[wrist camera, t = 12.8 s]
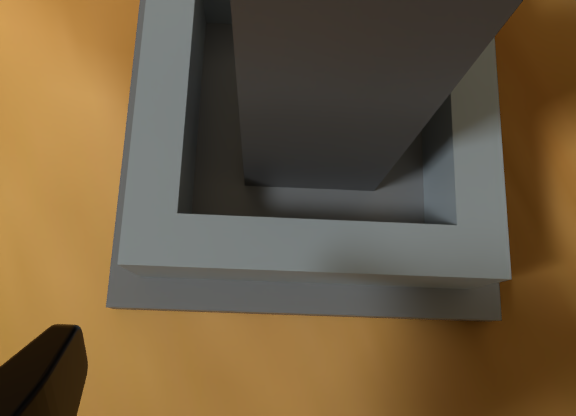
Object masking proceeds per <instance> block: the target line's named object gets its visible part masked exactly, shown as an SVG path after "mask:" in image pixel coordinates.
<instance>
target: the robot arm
mask: <svg viewBox="0 0 576 416" xmlns="http://www.w3.org/2000/svg"><path fill="white" fill-rule="evenodd" d="M87 369H88V361H87V355H86V350H85V344H84V339H83V333H82V330H81V328H80V327H79V326H78V325H66V324H56V325H53V326H51V327H49V328H48V329H47V330H45V331H44V332H43V333H42V334H40V335H39V336H38V337H37V338H35V339H34V340H33V341H32V342H30V343H29V344H28V345H27V346H25V347H24V348H23V349H22V350H20V351H19V352H18V353H17V354H15V355H14V356H13V357H12V358H10V359H9V360H8V361H7V362H5V363H4V364H3V365H2V366H0V416H77V412H78V408H79V404H80V400H81V396H82V392H83V388H84V384H85V380H86V376H87Z"/></svg>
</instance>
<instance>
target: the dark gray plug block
mask: <svg viewBox="0 0 576 416" xmlns="http://www.w3.org/2000/svg"><path fill="white" fill-rule="evenodd" d="M522 1H523V0H230V3H231V16H232V29H233V42H234V54H235V67H236V80H237V93H238V106H239V118H240V131H241V144H242V157H243V170H244V182H245V186H263V187H287V188H311V189H335V190H359V191H375V189H376V188H377V187H378V185H379V184H380V183H381V182H382V180H383V179H384V178H385V176H386V175H387V174H388V173H389V171H390V170H391V169H392V167H393V166H394V165H395V164H396V162H397V161H398V160H399V159H400V157H401V156H402V155H403V153H404V152H405V151H406V150H407V148H408V147H409V146H410V144H411V143H412V142H413V141H414V139H415V138H416V137H417V135H418V134H419V133H420V132H421V130H422V129H423V128H424V127H425V125H426V124H427V123H428V121H429V120H430V119H431V118H432V116H433V115H434V114H435V112H436V111H437V110H438V109H439V107H440V106H441V105H442V103H443V102H444V101H445V100H446V98H447V97H448V96H449V94H450V93H451V92H452V91H453V89H454V88H455V87H456V86H457V84H458V83H459V82H460V80H461V79H462V78H463V77H464V75H465V74H466V73H467V71H468V70H469V69H470V68H471V66H472V65H473V64H474V62H475V61H476V60H477V59H478V57H479V56H480V55H481V54H482V52H483V51H484V50H485V48H486V47H487V46H488V45H489V43H490V42H491V41H492V39H493V38H494V37H495V36H496V34H497V33H498V32H499V30H500V29H501V28H502V27H503V25H504V24H505V23H506V22H507V20H508V19H509V18H510V16H511V15H512V14H513V13H514V11H515V10H516V9H517V7H518V6H519V5H520V4H521V2H522Z"/></svg>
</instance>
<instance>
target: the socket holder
mask: <svg viewBox="0 0 576 416" xmlns="http://www.w3.org/2000/svg"><path fill="white" fill-rule="evenodd" d="M511 279H512V277H511V263H510V249H509V235H508V221H507V206H506V192H505V178H504V164H503V150H502V136H501V121H500V107H499V93H498V79H497V65H496V51H495V37H494V38H493V39H492V41H491V42H490V43H489V45H488V46H487V47H486V48H485V50H484V51H483V52H482V54H481V55H480V56H479V57H478V59H477V60H476V61H475V62H474V64H473V65H472V66H471V68H470V69H469V70H468V71H467V73H466V74H465V75H464V77H463V78H462V79H461V80H460V82H459V83H458V84H457V86H456V87H455V88H454V89H453V91H452V92H451V93H450V94H449V96H448V97H447V98H446V100H445V101H444V102H443V103H442V105H441V106H440V107H439V109H438V110H437V111H436V112H435V114H434V115H433V116H432V118H431V119H430V120H429V121H428V123H427V124H426V125H425V127H424V128H423V129H422V130H421V132H420V133H419V134H418V135H417V137H416V138H415V139H414V141H413V142H412V143H411V144H410V146H409V147H408V148H407V150H406V151H405V152H404V153H403V155H402V156H401V157H400V159H399V160H398V161H397V162H396V164H395V165H394V166H393V167H392V169H391V170H390V171H389V173H388V174H387V175H386V176H385V178H384V179H383V180H382V182H381V183H380V184H379V185H378V187H377V188H376V189H375V191H359V190H335V189H311V188H287V187H263V186H245V182H244V170H243V157H242V144H241V131H240V118H239V106H238V93H237V80H236V67H235V54H234V42H233V29H232V16H231V3H230V0H140V5H139V14H138V23H137V32H136V41H135V50H134V59H133V68H132V77H131V86H130V95H129V104H128V113H127V122H126V131H125V140H124V150H123V159H122V168H121V177H120V186H119V195H118V204H117V213H116V222H115V231H114V240H113V249H112V258H111V267H110V276H109V285H108V294H107V303H106V307H108V308H112V309H131V310H161V311H190V312H220V313H250V314H279V315H309V316H339V317H369V318H398V319H428V320H458V321H487V322H490V321H502V318H501V302H500V287H499V282H502V281H507V280H511Z"/></svg>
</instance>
